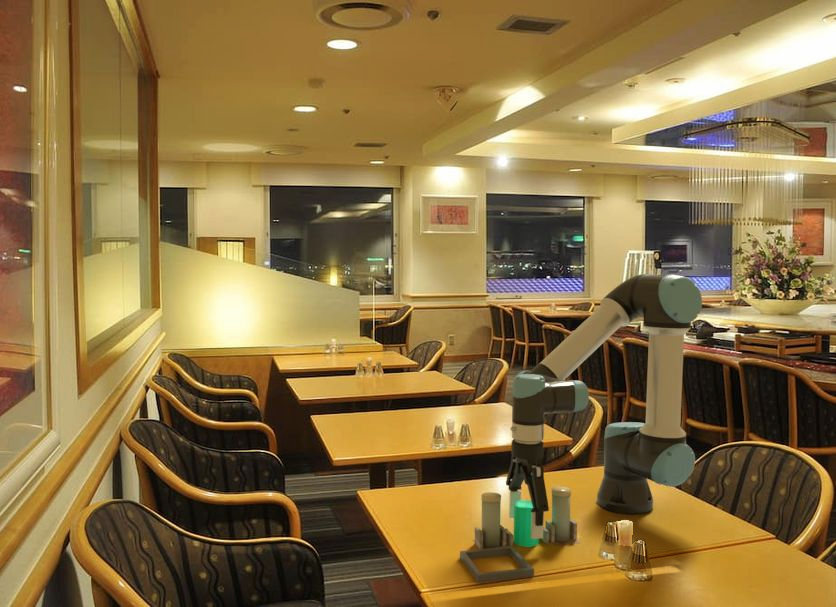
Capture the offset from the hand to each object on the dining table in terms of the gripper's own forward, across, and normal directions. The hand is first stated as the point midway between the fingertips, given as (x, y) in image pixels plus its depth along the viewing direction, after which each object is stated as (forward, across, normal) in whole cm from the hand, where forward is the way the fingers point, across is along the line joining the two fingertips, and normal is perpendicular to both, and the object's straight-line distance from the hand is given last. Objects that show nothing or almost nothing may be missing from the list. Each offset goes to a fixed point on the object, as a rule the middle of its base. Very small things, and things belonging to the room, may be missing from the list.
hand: (525, 527), depth 173 cm
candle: (+5, 0, 0) cm, 5 cm away
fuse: (+4, 0, -9) cm, 9 cm away
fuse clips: (+5, +2, 0) cm, 5 cm away
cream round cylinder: (+3, 0, +9) cm, 10 cm away
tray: (+5, +12, -12) cm, 17 cm away
